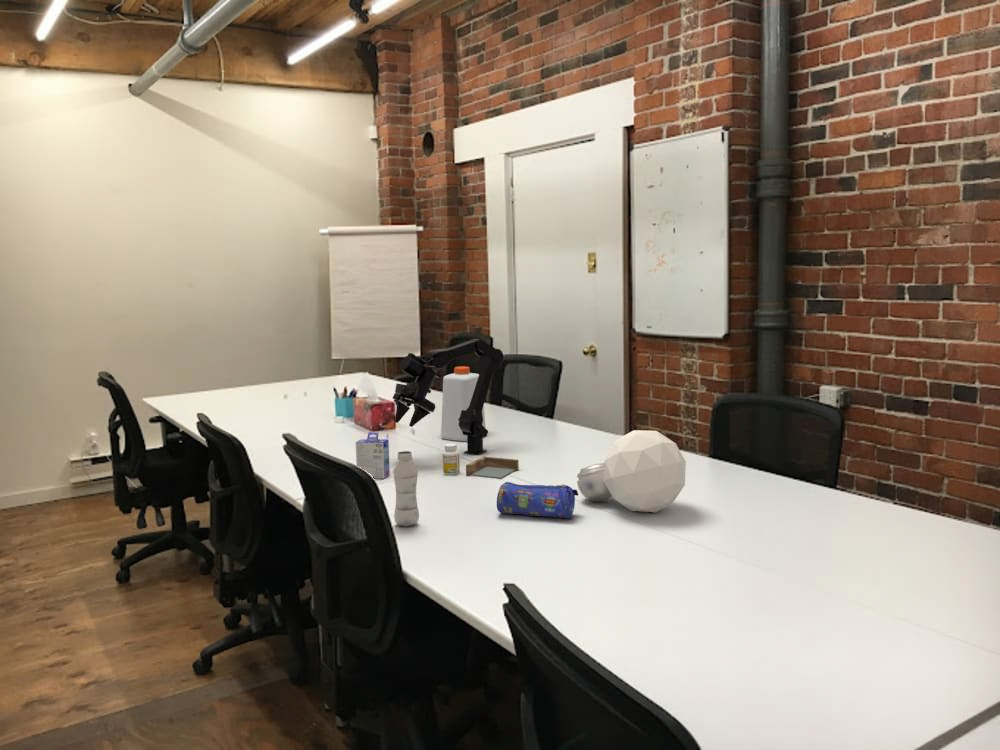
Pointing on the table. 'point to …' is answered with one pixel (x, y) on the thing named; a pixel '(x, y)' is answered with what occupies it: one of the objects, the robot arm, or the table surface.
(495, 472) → the mat
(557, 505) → the pencil case
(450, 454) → the supplement bottle
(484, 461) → the corner walls
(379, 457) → the ink cartridge box
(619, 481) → the lamp
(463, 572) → the table surface
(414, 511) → the plastic bottle
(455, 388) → the plastic bottle
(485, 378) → the robot arm
